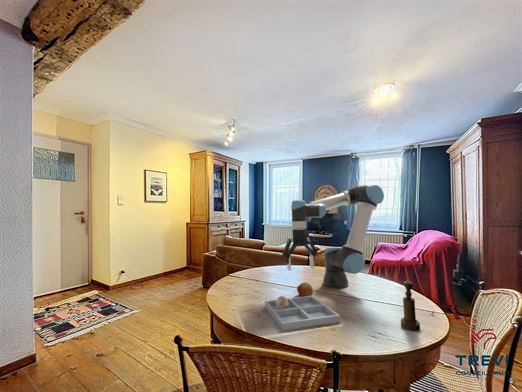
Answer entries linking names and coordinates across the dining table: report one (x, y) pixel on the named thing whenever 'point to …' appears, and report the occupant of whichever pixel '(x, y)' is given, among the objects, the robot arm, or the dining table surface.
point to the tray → (302, 313)
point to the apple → (305, 289)
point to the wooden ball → (282, 303)
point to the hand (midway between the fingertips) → (300, 268)
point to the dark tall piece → (409, 310)
